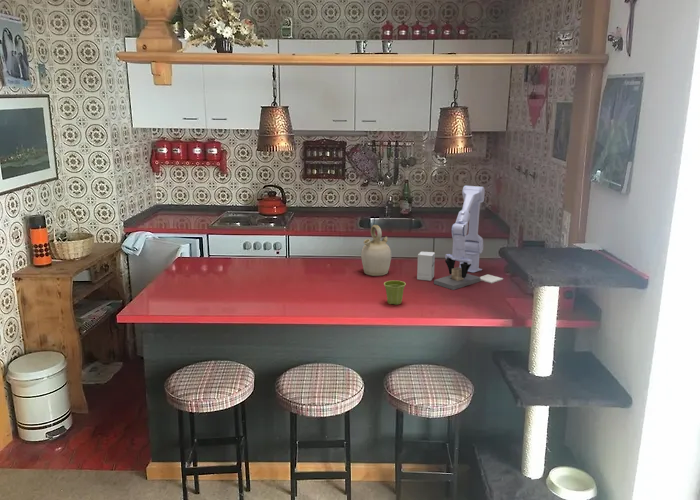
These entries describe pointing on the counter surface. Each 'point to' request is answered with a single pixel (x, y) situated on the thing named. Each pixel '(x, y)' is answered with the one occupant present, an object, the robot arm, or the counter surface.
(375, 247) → the jug
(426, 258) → the supplement box
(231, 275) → the counter surface
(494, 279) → the mat
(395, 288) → the plant pot
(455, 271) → the plug
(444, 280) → the grey flat block
